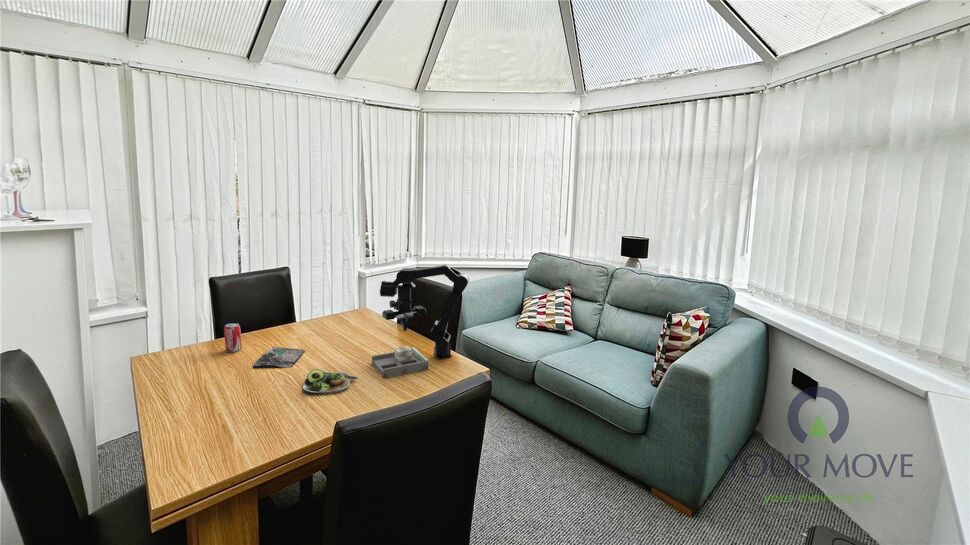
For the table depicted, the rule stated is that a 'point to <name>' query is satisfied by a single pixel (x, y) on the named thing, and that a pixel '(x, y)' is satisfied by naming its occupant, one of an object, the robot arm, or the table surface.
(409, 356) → the cream block
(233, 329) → the soda can
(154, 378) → the table surface
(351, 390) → the table surface
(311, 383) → the salad plate
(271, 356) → the terrain model
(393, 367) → the box
